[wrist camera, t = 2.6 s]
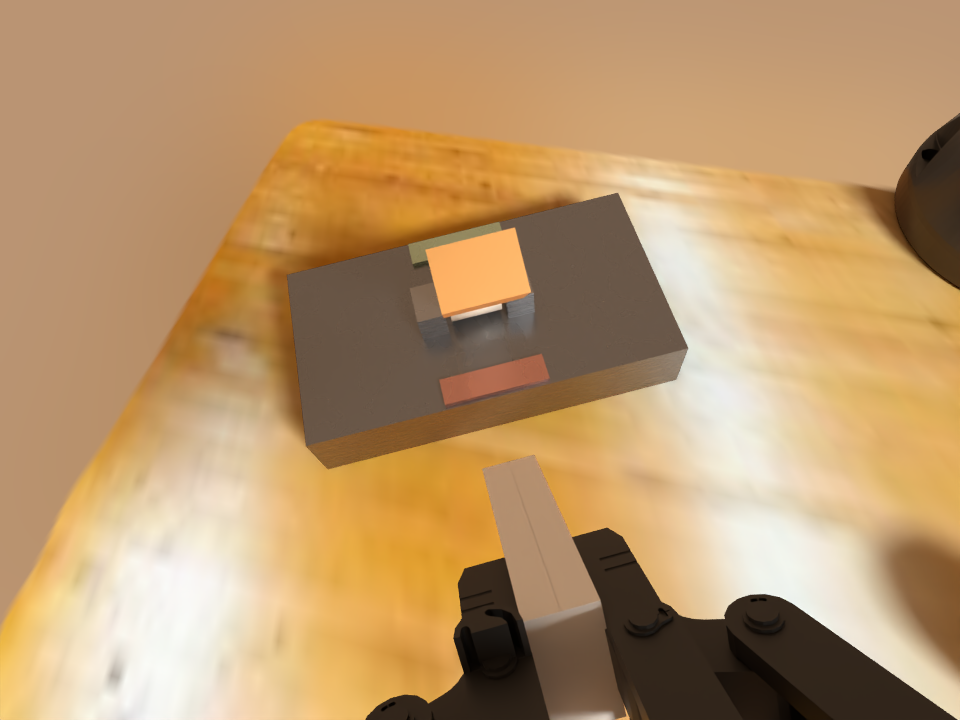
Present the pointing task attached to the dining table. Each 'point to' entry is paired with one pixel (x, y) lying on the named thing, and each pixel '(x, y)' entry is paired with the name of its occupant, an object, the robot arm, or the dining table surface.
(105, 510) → the dining table surface
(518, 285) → the lever
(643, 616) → the robot arm
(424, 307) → the box
